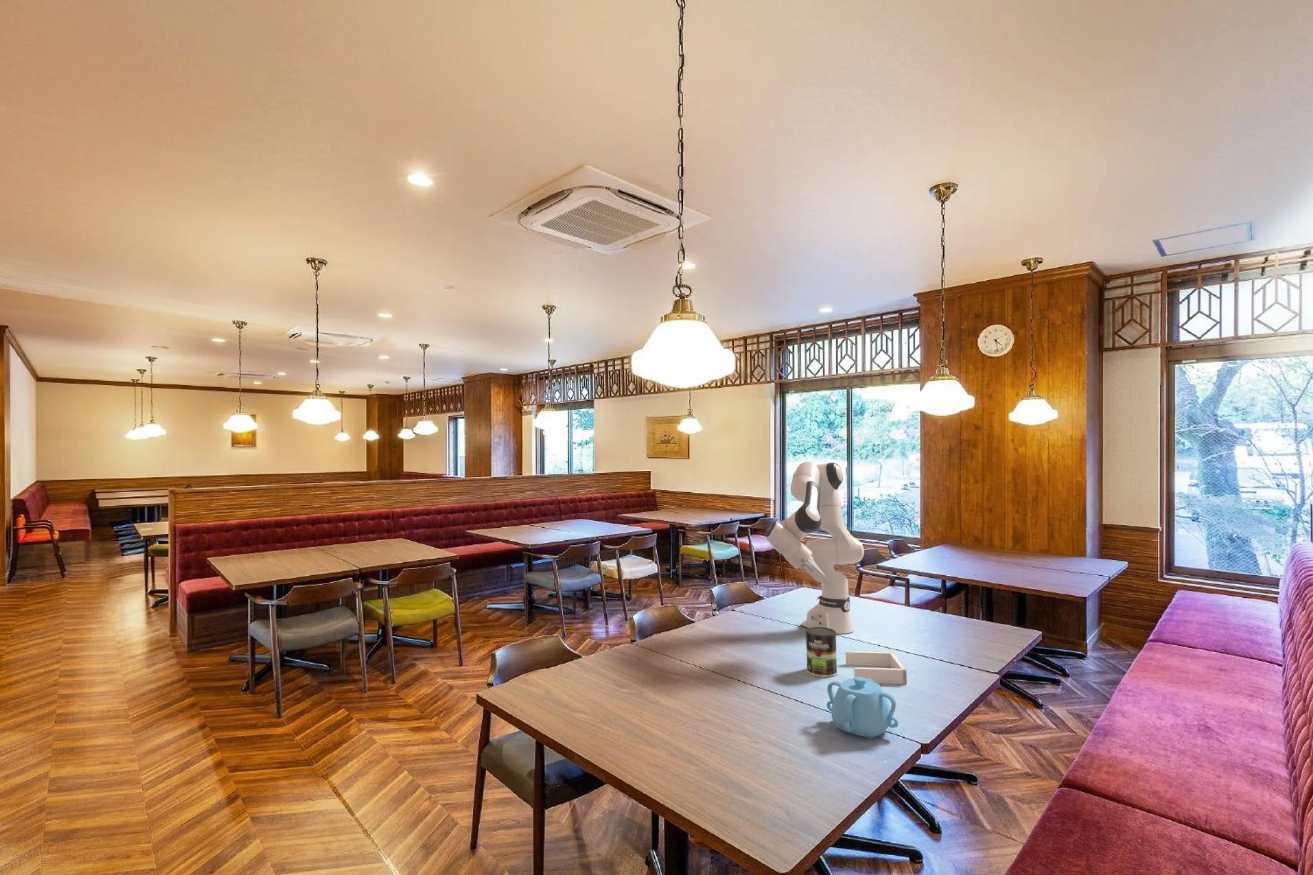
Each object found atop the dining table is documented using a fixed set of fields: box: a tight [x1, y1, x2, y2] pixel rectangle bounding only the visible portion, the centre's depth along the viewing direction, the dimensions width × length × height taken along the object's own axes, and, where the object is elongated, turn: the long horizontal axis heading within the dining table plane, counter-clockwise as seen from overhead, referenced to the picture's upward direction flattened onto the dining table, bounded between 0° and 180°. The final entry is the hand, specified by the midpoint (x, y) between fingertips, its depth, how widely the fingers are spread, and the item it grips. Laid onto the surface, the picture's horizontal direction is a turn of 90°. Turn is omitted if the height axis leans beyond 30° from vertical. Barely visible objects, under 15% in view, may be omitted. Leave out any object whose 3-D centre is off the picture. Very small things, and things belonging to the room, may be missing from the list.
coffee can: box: [805, 627, 838, 678], centre depth 199 cm, size 10×10×14 cm
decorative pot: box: [826, 677, 899, 739], centre depth 157 cm, size 16×16×14 cm
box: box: [845, 650, 908, 685], centre depth 196 cm, size 16×17×4 cm
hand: (828, 583), depth 213 cm, fingers closed
